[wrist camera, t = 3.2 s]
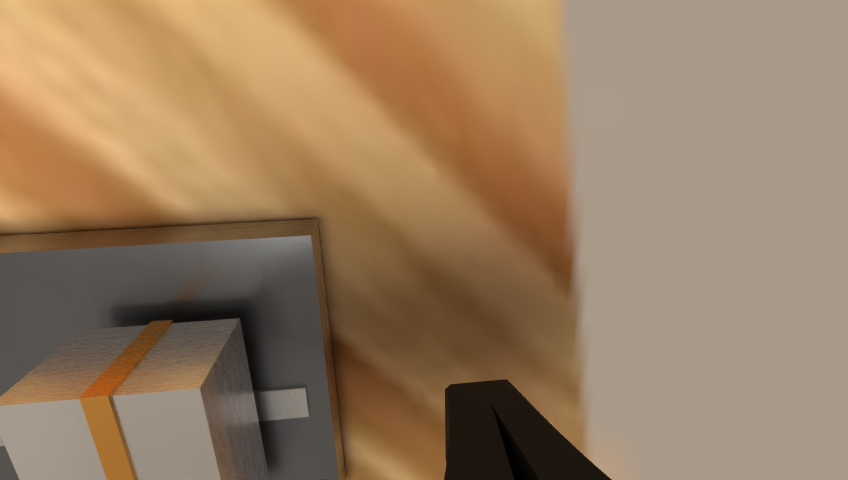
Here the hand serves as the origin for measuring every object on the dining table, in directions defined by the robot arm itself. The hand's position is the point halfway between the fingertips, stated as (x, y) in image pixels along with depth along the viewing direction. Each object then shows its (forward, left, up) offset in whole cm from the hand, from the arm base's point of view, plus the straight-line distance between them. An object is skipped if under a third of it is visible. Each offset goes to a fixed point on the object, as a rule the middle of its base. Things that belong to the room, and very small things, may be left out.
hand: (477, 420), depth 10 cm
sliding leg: (0, +6, -1) cm, 6 cm away
